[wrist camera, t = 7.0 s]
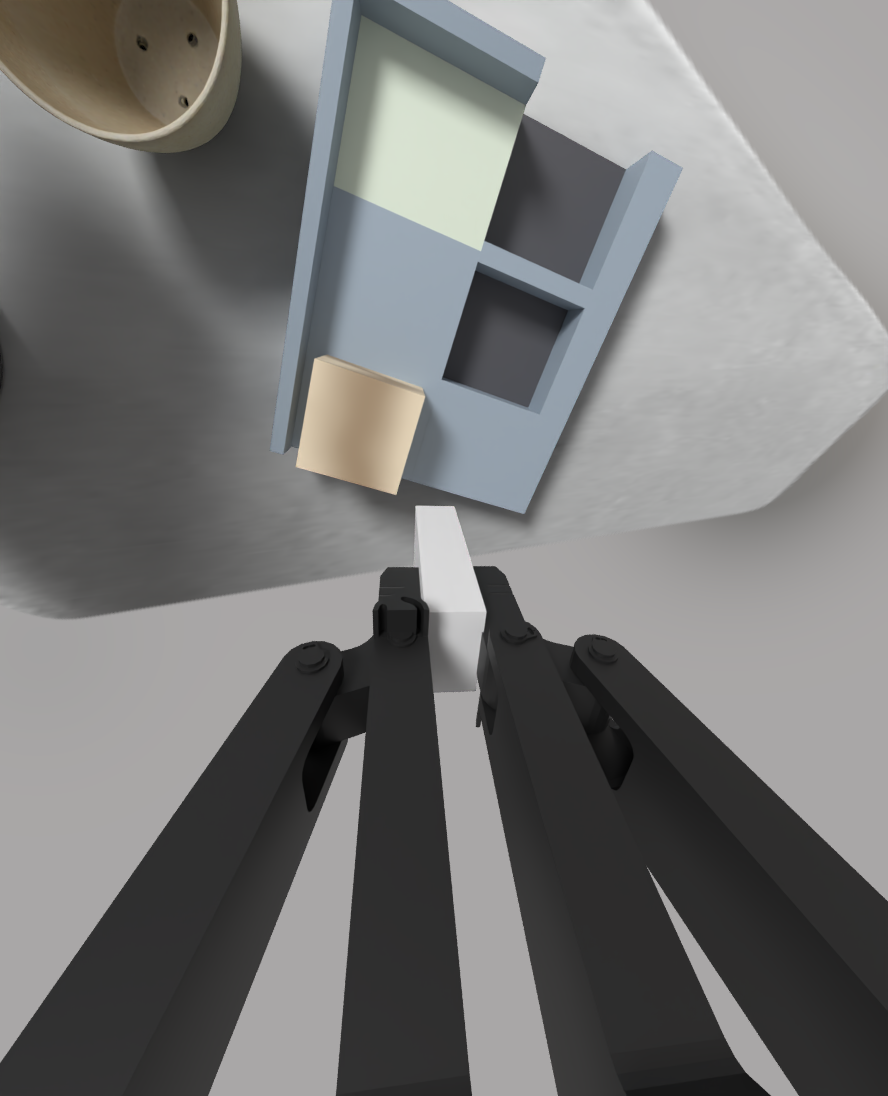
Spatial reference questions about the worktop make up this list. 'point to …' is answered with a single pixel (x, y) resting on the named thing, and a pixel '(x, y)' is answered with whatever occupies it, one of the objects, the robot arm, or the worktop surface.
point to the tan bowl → (127, 66)
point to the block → (358, 424)
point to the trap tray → (457, 243)
